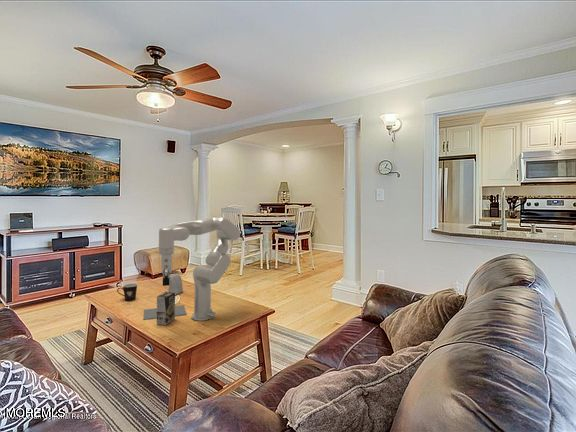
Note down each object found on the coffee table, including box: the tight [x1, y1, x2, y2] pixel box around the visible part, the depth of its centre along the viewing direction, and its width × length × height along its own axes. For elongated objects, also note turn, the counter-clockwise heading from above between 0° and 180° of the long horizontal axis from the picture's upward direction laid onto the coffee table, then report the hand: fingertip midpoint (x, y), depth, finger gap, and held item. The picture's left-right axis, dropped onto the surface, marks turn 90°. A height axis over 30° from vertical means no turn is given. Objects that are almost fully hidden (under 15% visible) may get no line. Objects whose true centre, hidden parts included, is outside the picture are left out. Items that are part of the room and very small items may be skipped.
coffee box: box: [156, 291, 176, 326], centre depth 179 cm, size 9×6×16 cm
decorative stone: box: [167, 273, 184, 295], centre depth 227 cm, size 11×6×15 cm, turn 154°
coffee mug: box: [116, 283, 138, 302], centre depth 213 cm, size 12×9×10 cm
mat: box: [143, 304, 188, 321], centre depth 193 cm, size 16×24×1 cm, turn 114°
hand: (166, 282), depth 165 cm, fingers open, 9 cm apart
